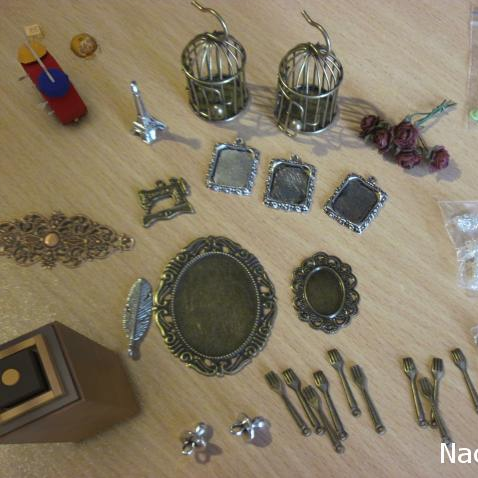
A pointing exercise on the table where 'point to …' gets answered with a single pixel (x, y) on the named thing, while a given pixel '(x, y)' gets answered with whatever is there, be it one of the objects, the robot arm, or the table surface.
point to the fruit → (85, 47)
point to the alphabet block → (33, 33)
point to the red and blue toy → (51, 82)
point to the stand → (67, 389)
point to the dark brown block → (20, 378)
